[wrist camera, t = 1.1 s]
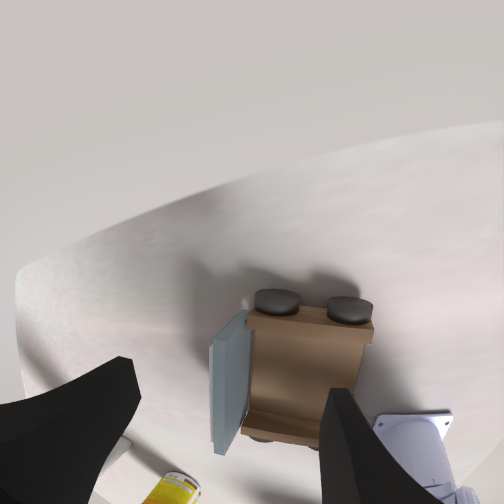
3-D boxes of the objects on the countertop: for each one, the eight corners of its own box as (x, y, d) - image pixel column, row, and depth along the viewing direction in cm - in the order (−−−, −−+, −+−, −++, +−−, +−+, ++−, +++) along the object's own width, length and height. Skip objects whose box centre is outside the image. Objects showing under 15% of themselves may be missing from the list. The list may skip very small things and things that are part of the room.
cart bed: (340, 430, 22) (338, 456, 19) (252, 417, 24) (240, 441, 21) (370, 298, 20) (376, 315, 17) (261, 287, 23) (247, 300, 19)
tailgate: (246, 414, 23) (224, 455, 17) (233, 411, 23) (209, 451, 18) (252, 311, 21) (225, 341, 16) (237, 309, 22) (206, 337, 16)
